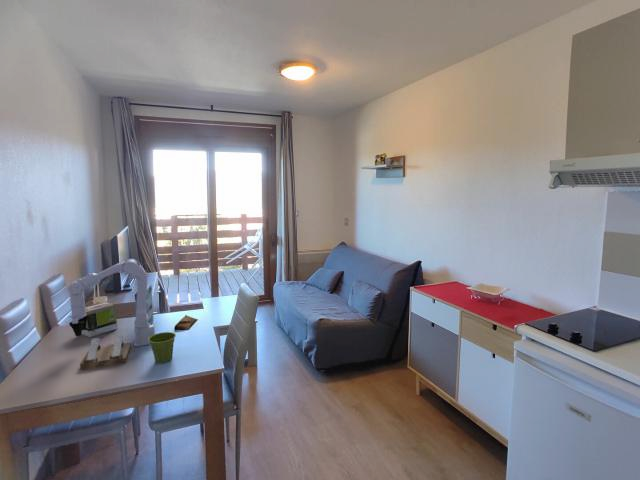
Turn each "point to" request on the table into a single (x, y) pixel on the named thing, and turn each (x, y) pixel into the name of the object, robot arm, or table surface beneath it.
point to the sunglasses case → (185, 323)
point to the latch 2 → (117, 346)
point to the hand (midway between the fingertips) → (80, 332)
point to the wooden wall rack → (106, 356)
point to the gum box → (149, 304)
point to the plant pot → (162, 346)
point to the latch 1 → (93, 349)
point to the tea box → (100, 319)
